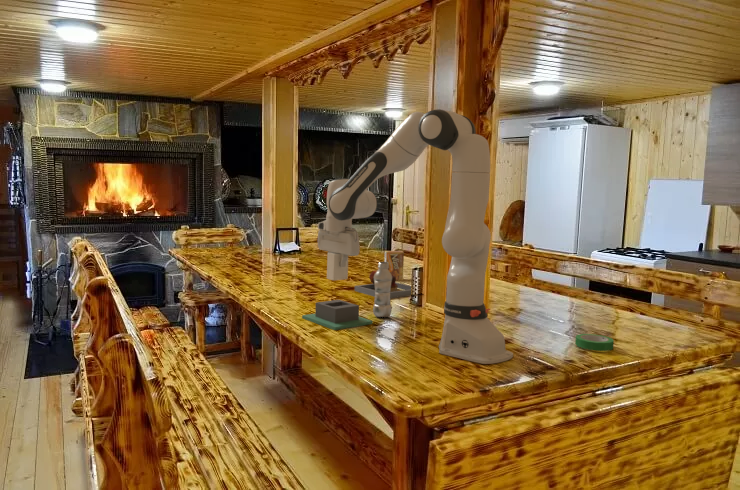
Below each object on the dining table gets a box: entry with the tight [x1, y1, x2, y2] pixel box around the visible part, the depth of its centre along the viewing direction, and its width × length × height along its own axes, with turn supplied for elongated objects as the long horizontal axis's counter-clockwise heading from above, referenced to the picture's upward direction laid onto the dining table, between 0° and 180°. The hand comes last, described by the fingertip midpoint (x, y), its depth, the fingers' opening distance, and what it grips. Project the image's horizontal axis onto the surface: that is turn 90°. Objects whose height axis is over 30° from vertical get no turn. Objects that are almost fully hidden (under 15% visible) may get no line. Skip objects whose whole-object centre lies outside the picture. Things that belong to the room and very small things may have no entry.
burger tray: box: [354, 281, 412, 300], centre depth 255 cm, size 20×22×3 cm
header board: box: [301, 299, 374, 331], centre depth 203 cm, size 20×16×6 cm
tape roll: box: [575, 333, 615, 352], centre depth 181 cm, size 11×11×3 cm
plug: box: [326, 252, 349, 281], centre depth 201 cm, size 4×6×9 cm, turn 129°
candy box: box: [383, 250, 405, 281], centre depth 285 cm, size 9×4×15 cm, turn 103°
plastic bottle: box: [372, 261, 392, 319], centre depth 210 cm, size 6×7×20 cm
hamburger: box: [368, 270, 398, 292], centre depth 258 cm, size 16×13×10 cm
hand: (337, 265), depth 201 cm, fingers closed on plug, 4 cm apart
